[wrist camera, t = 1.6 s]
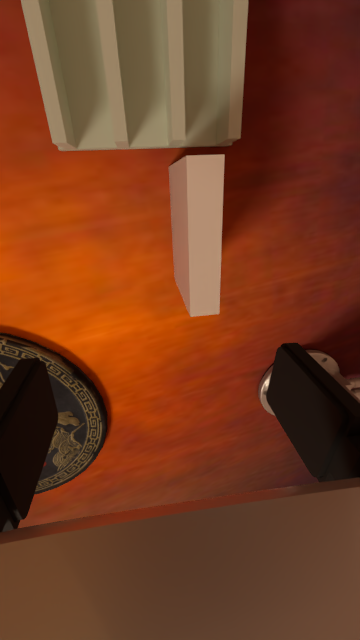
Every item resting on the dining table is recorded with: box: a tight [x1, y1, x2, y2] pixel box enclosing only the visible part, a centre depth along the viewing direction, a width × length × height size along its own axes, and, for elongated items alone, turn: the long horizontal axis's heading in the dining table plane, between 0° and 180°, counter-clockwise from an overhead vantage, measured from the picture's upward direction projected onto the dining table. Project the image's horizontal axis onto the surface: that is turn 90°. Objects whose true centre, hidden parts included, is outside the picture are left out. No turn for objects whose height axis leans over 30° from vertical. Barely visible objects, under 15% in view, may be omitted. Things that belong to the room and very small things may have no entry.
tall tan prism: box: [169, 154, 225, 317], centre depth 23 cm, size 2×11×10 cm, turn 2°
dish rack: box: [21, 0, 248, 151], centre depth 18 cm, size 15×14×4 cm
